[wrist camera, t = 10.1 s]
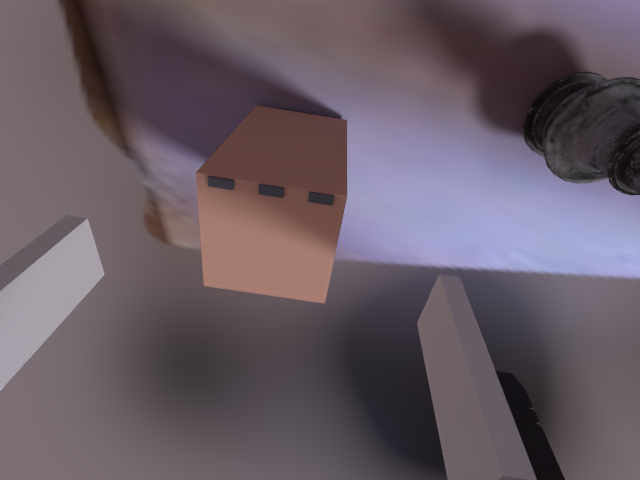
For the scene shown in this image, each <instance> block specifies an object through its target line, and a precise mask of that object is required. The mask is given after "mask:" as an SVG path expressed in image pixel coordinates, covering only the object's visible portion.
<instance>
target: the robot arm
mask: <svg viewBox="0 0 640 480" xmlns="http://www.w3.org/2000/svg"><path fill="white" fill-rule="evenodd" d="M103 275H104V272H103V268H102V265H101V262H100V259H99V255H98V252H97V248H96V245H95V242H94V238H93V235H92V232H91V228H90V225H89V222H88V219H87V218H81V217H76V216H69V215H66V216H65V217H63V218H62V219H61V220H60V221H58V222H57V223H56V224H54V225H53V226H52V227H50V228H49V229H48V230H46V231H45V232H44V233H43V234H41V235H40V236H38V237H37V238H36V239H35V240H33V241H32V242H31V243H29V244H28V245H27V246H25V247H24V248H23V249H21V250H20V251H19V252H17V253H16V254H15V255H13V256H12V257H11V258H10V259H8V260H7V261H6V262H4V263H3V264H2V265H0V390H1V389H2V388H3V387H4V386H5V385H6V384H7V383H8V382H9V380H10V379H11V378H12V377H13V376H14V375H15V374H16V372H17V371H18V370H19V369H20V368H21V367H22V366H23V365H24V364H25V363H26V361H27V360H28V359H29V358H30V357H31V356H32V355H33V354H34V353H35V351H36V350H37V349H38V348H39V347H40V346H41V345H42V344H43V342H44V341H45V340H46V339H47V338H48V337H49V336H50V335H51V334H52V332H53V331H54V330H55V329H56V328H57V327H58V326H59V325H60V323H61V322H62V321H63V320H64V319H65V318H66V316H68V315H69V313H70V312H71V311H72V310H73V309H74V308H75V307H76V306H77V305H78V303H79V302H80V301H81V300H82V299H83V298H84V297H85V296H86V294H87V293H88V292H89V291H90V290H91V289H92V288H93V287H94V286H95V284H96V283H97V282H98V281H99V280H100V279H101V278H102V276H103ZM417 324H418V330H419V335H420V340H421V345H422V350H423V355H424V360H425V365H426V371H427V376H428V381H429V386H430V391H431V396H432V401H433V406H434V411H435V416H436V421H437V426H438V431H439V436H440V441H441V446H442V452H443V456H444V462H445V467H446V472H447V477H448V480H565V479H564V477H563V474H562V472H561V470H560V467H559V465H558V463H557V460H556V458H555V456H554V454H553V451H552V449H551V447H550V445H549V442H548V440H547V438H546V436H545V433H544V431H543V429H542V427H540V422H539V420H538V417H537V415H536V413H535V412H534V411H533V406H532V404H531V401H530V399H529V397H528V394H527V392H526V390H525V389H524V388H523V387H522V385H521V384H520V383H519V381H518V380H517V379H516V378H515V377H514V375H513V374H512V373H506V372H499V371H495V369H494V366H493V364H492V361H491V358H490V356H489V353H488V351H487V348H486V345H485V343H484V340H483V337H482V335H481V332H480V330H479V327H478V324H477V322H476V319H475V316H474V314H473V312H472V309H471V306H470V304H469V301H468V298H467V295H466V293H465V290H464V288H463V285H462V283H461V280H460V278H459V277H454V276H448V275H442V274H440V275H439V276H438V278H437V281H436V283H435V285H434V287H433V289H432V292H431V294H430V296H429V298H428V301H427V303H426V305H425V307H424V309H423V312H422V314H421V316H420V318H419V320H418V323H417Z"/></svg>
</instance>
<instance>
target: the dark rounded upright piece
mask: <svg viewBox="0 0 640 480" xmlns="http://www.w3.org/2000/svg"><path fill="white" fill-rule="evenodd" d="M524 136H525V139H526V142H527V144H528V145H529V147H530V148H531V149H532V150H533V151H534V152H536V153H537V154H539V155H541V156H544V157H545V160H546V164H547V166H548V168H549V169H550V170H551V171H552V173H553V174H554V175H556V176H557V177H559V178H561V179H562V180H564V181H568V182H572V183H592V182H596V181H601V180H604V179H607V178H609V182H610V183H611V185H612V186H613V187H614V188H615V189H616V190H618V191H619V192H621V193H624V194H628V195H640V79H637V78H633V77H627V78H614V79H611V80H607V79H606V78H604V77H603V76H601V75H597V74H593V73H577V74H574V75H570V76H567V77H564V78H562V79H560V80H559V81H557V82H555V83H553V84H552V85H550V86H549V87H548V88H547V89H546V90H544V91H543V92H542V93H541V94H540V95H539V97H538V98H537V99H536V100H535V101H534V103H533V104H532V106H531V108H530V110H529V112H528V113H527V117H526V120H525V124H524Z"/></svg>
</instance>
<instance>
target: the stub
mask: <svg viewBox="0 0 640 480" xmlns="http://www.w3.org/2000/svg"><path fill="white" fill-rule="evenodd" d="M196 179H197V193H198V207H199V222H200V236H201V251H202V265H203V280H204V286H210V287H216V288H223V289H230V290H237V291H243V292H250V293H257V294H264V295H271V296H278V297H284V298H291V299H298V300H306V301H311V302H319V303H325V300H326V295H327V291H328V285H329V281H330V276H331V271H332V267H333V262H334V257H335V252H336V247H337V242H338V238H339V233H340V228H341V223H342V218H343V213H344V209H345V204H346V199H347V120H344V119H338V118H332V117H325V116H319V115H313V114H307V113H301V112H294V111H288V110H282V109H276V108H270V107H264V106H257V105H256V106H255V108H254V109H253V110H252V111H251V112H250V113H249V114H248V115H247V116H246V118H245V119H244V120H243V121H242V122H241V123H240V124H239V125H238V126H237V128H236V129H235V130H234V131H233V132H232V133H231V134H230V135H229V136H228V138H227V139H226V140H225V141H224V142H223V143H222V144H221V145H220V146H219V148H218V149H217V150H216V151H215V152H214V153H213V154H212V155H211V156H210V158H209V159H208V160H207V161H206V162H205V163H204V164H203V165H202V167H201V168H200V169H199V170H198V171H197V172H196Z"/></svg>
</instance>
